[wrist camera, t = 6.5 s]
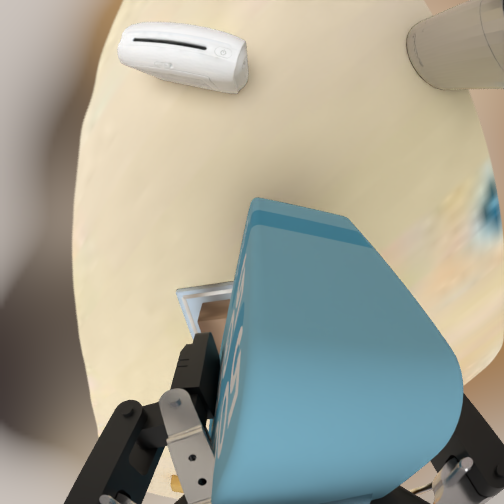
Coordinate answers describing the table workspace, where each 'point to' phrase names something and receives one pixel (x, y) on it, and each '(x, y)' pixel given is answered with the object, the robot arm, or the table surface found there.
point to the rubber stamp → (176, 484)
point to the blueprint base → (197, 301)
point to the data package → (324, 368)
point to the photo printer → (186, 55)
